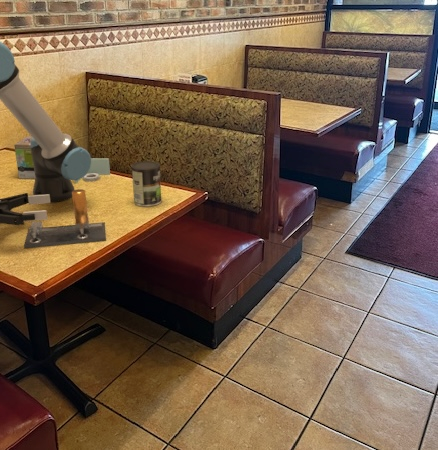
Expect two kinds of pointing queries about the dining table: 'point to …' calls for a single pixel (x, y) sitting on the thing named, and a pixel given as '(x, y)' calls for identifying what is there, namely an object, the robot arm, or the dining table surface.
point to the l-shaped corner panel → (97, 169)
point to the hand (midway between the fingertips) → (48, 206)
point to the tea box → (24, 159)
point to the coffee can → (146, 183)
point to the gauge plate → (63, 235)
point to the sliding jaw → (80, 210)
